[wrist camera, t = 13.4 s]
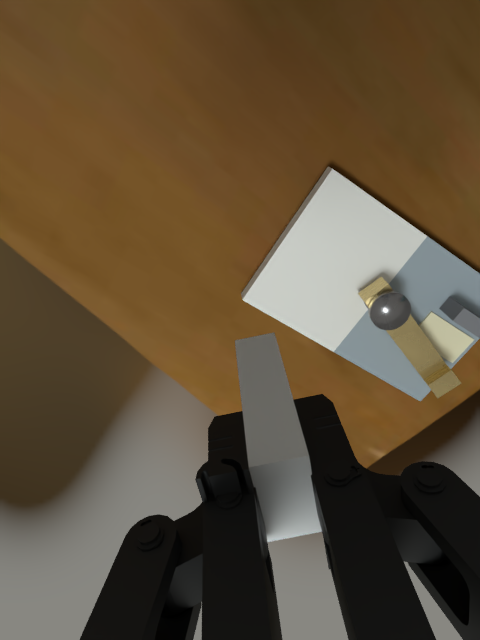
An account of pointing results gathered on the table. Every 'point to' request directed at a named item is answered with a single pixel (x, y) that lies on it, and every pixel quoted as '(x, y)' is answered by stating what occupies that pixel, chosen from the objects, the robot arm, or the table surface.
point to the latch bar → (407, 335)
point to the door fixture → (365, 282)
